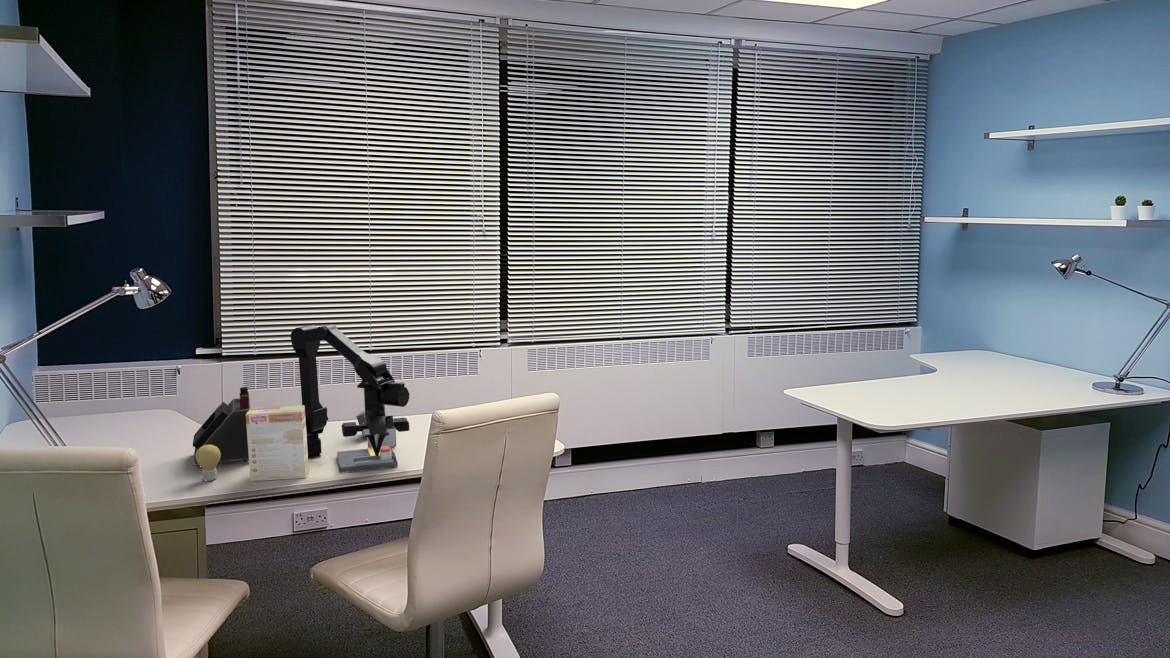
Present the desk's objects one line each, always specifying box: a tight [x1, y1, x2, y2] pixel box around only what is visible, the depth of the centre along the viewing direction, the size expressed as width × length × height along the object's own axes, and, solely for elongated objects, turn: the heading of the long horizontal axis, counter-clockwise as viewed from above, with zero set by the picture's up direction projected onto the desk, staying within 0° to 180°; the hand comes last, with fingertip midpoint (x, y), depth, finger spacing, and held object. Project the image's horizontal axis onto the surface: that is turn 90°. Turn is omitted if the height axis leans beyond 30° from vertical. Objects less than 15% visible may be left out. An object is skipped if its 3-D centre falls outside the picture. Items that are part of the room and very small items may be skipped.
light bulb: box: [196, 445, 221, 481], centre depth 253 cm, size 6×6×10 cm
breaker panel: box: [336, 447, 399, 473], centre depth 269 cm, size 16×16×3 cm
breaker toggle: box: [380, 446, 392, 460], centre depth 266 cm, size 3×4×4 cm
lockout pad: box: [366, 446, 384, 456], centre depth 273 cm, size 6×10×1 cm, turn 19°
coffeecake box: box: [246, 405, 310, 482], centre depth 255 cm, size 15×7×20 cm, turn 99°
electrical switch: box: [356, 409, 366, 439], centre depth 296 cm, size 9×5×9 cm, turn 174°
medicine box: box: [366, 428, 397, 448], centre depth 282 cm, size 8×4×9 cm, turn 133°
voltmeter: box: [192, 386, 251, 467], centre depth 271 cm, size 16×16×20 cm
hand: (376, 455), depth 265 cm, fingers closed
